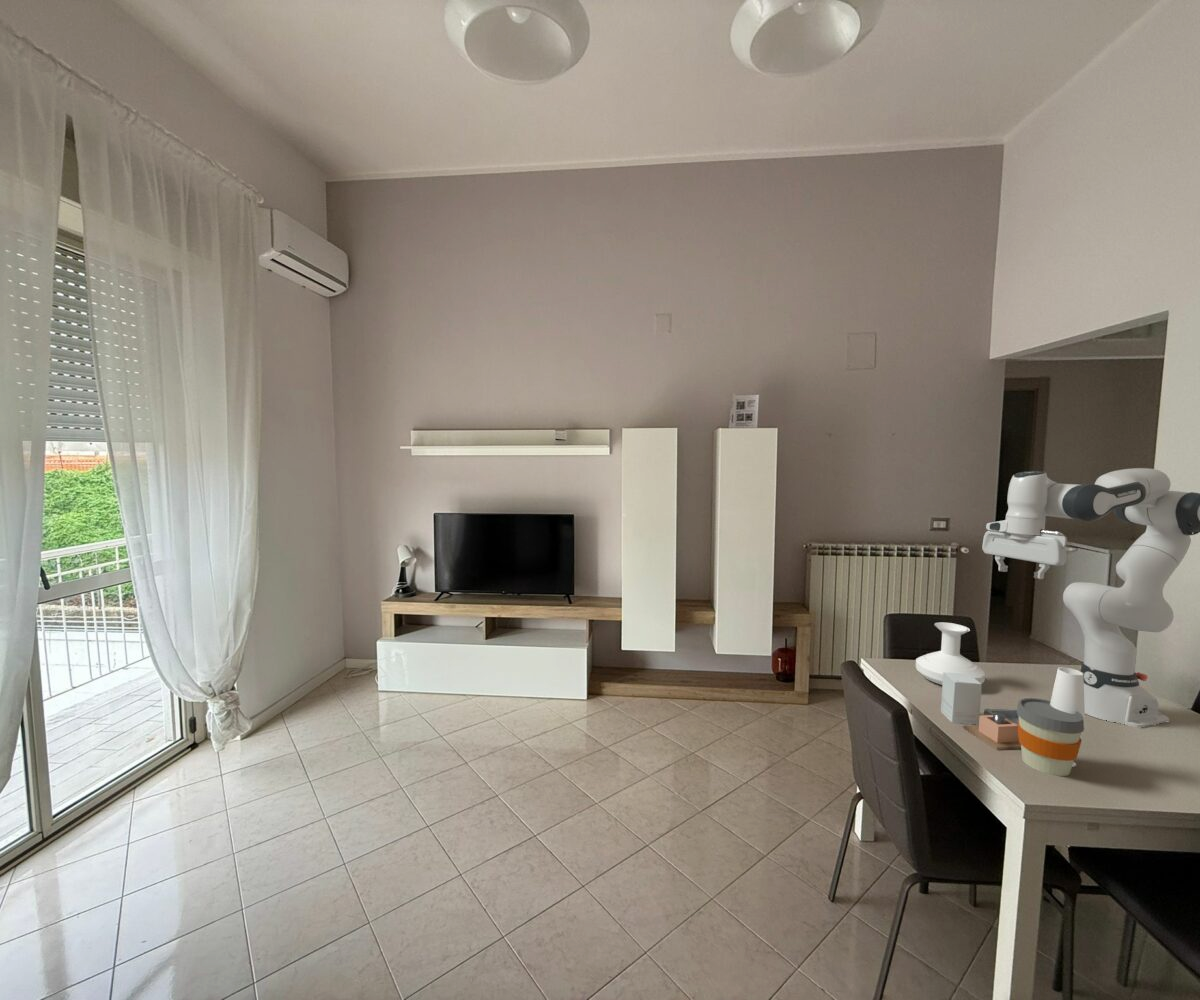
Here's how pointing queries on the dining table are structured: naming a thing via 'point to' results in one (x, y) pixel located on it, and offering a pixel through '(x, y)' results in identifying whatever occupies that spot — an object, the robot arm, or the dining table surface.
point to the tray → (1005, 713)
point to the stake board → (998, 746)
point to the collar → (998, 729)
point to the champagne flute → (1069, 692)
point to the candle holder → (948, 656)
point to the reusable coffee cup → (1048, 736)
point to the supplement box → (961, 698)
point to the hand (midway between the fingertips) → (1020, 574)
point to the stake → (999, 718)
